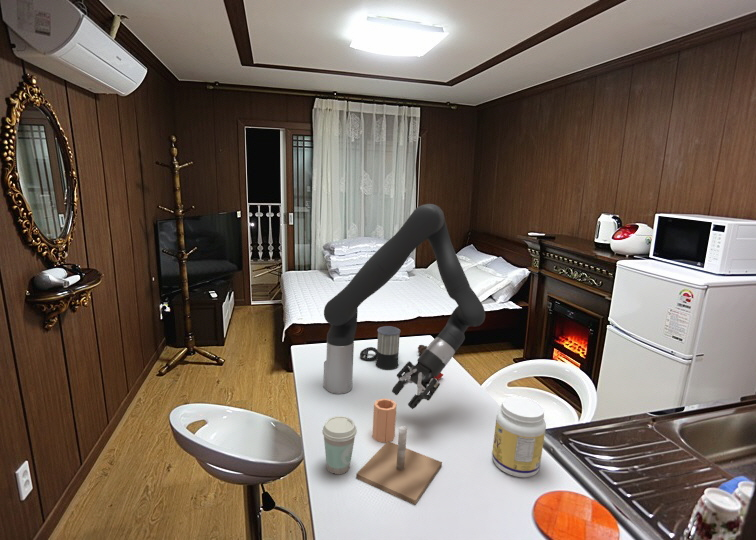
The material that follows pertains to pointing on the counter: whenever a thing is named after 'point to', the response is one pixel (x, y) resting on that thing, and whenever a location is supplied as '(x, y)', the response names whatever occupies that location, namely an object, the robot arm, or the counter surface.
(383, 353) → the milk frother
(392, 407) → the collar
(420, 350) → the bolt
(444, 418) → the counter surface
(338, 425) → the coffee cup
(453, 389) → the counter surface
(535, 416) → the supplement tub
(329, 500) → the counter surface
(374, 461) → the post
